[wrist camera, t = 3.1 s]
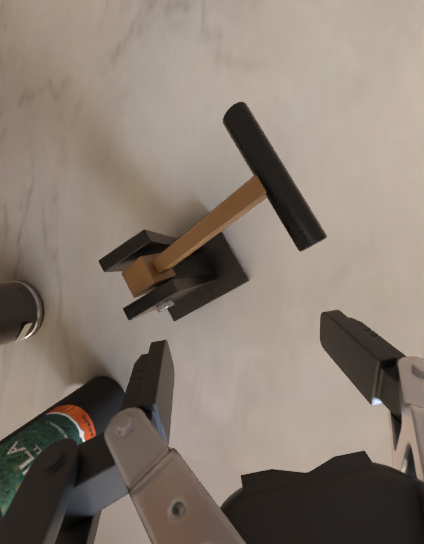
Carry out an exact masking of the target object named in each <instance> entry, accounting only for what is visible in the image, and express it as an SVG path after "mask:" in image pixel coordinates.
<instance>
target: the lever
mask: <svg viewBox="0 0 424 544" xmlns="http://www.w3.org/2000/svg"><path fill="white" fill-rule="evenodd" d="M223 124H224V126H225V128H226V129H227V131H228V133H229V134H230V136H231V138H232V139H233V141H234V143H235V144H236V146H237V148H238V149H239V151H240V153H241V154H242V156H243V158H244V159H245V161H246V163H247V164H248V166H249V168H250V170H251V171H252V173H253V175H254V176H253V177H252V178H251V179H250V180H249V181H247V182H246V183H245V184H244V185H243V186H241V187H240V188H239V189H238V190H237V191H235V192H234V193H233V194H232V195H231V196H229V197H228V198H227V199H226V200H224V201H223V202H222V203H221V204H220V205H218V206H217V207H216V208H215V209H214V210H212V211H211V212H210V213H209V214H208V215H206V216H205V217H204V218H203V219H202V220H200V221H199V222H198V223H197V224H196V225H194V226H193V227H192V228H191V229H190V230H188V231H187V232H186V233H185V234H184V235H182V236H181V237H180V238H179V239H178V240H176V241H175V242H174V243H173V244H172V245H170V246H169V247H168V248H167V249H166V250H164V251H163V252H161V253H156V254H150V255H145V256H140V257H139V258H138V259H137V260H136V261H135V262H134V263H133V264H131V265H130V266H129V267H128V268H127V269H126V270H125V271H124V272H123V273H122V275H123V277H124V279H125V281H126V283H127V285H128V287H129V289H130V291H131V293H132V295H133V297H134V298H135V297H138V296H141V295H143V294H146V293H149V292H151V291H153V290H154V289H156V288H158V287H159V286H161V285H163V284H164V283H166V282H168V281H169V280H171V279H172V278H174V277H175V276H176V274H175V272H174V271H173V269H172V267H174V266H175V265H176V264H178V263H179V262H180V261H182V260H183V259H185V258H186V257H187V256H189V255H190V254H191V253H193V252H194V251H195V250H197V249H198V248H199V247H201V246H202V245H203V244H205V243H206V242H207V241H209V240H210V239H212V238H213V237H214V236H216V235H217V234H218V233H220V232H221V231H222V230H224V229H225V228H226V227H228V226H229V225H230V224H232V223H233V222H235V221H236V220H237V219H239V218H240V217H241V216H243V215H244V214H245V213H247V212H248V211H249V210H251V209H252V208H253V207H255V206H256V205H257V204H259V203H260V202H262V201H263V200H264V199H266V198H268V200H269V201H270V203H271V205H272V206H273V208H274V210H275V211H276V213H277V215H278V216H279V218H280V220H281V222H282V223H283V225H284V227H285V228H286V230H287V232H288V233H289V235H290V237H291V238H292V240H293V242H294V243H295V245H296V247H297V248H298V250H299V251H303V250H305V249H307V248H309V247H311V246H313V245H315V244H316V243H318V242H320V241H322V240H324V239H325V238H326V237H327V235H326V233H325V232H324V230H323V229H322V227H321V225H320V224H319V222H318V220H317V219H316V217H315V216H314V214H313V212H312V211H311V209H310V207H309V206H308V204H307V202H306V201H305V199H304V198H303V196H302V194H301V193H300V191H299V189H298V188H297V186H296V184H295V183H294V181H293V180H292V178H291V176H290V175H289V173H288V171H287V170H286V168H285V166H284V165H283V163H282V162H281V160H280V158H279V157H278V155H277V153H276V152H275V150H274V149H273V147H272V145H271V144H270V142H269V140H268V139H267V137H266V135H265V134H264V132H263V131H262V129H261V127H260V126H259V124H258V122H257V121H256V119H255V117H254V116H253V114H252V113H251V111H250V109H249V108H248V106H247V104H246V103H244V102H238V103H236V104H234V105H233V106H232V107H230V108H229V110H228V111H227V112H226V114H225V116H224V118H223Z"/></svg>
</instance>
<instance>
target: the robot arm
mask: <svg viewBox="0 0 424 544" xmlns="http://www.w3.org/2000/svg"><path fill="white" fill-rule="evenodd" d="M42 318H43V307H42V302H41V299H40V297H39V295H38V293H37V291H36V290H35V289H34V288H33V287H32V286H31V285H30V284H28V283H26V282H24V281H9V282H1V283H0V345H4V344H7V343H10V342H13V341H16V342H15V343H17V342H20V341H22V340H23V339H25V338H28V337H31V336H32V335H34V334H35V333H36V332H37V330H38V329H39V327H40V325H41V322H42ZM320 341H321V344H322V347H323V348H324V350H325V351H326V352H327V353H328V354H329V356H330V357H331V358H332V359H333V360H334V362H335V363H336V364H337V365H338V366H339V368H340V369H341V370H342V371H343V372H344V373H345V375H346V376H347V377H348V378H349V379H350V381H351V382H352V383H353V384H354V385H355V386H356V388H357V389H358V390H359V391H360V392H361V394H362V395H363V396H364V397H365V398H366V399H367V401H368V402H369V403H370V404H371V405H372V406H373V405H378V404H384V405H385V406H386V407H387V408H388V409H389V411H388V419H389V430H390V440H391V451H392V467H389V466H386V465H382V464H378V463H372V461H371V460H370V458H369V457H368V455H367V454H366V452H365V451H361V452H356V453H351V454H346V455H341V456H336V457H333V458H332V459H330V460H328V461H327V462H325V463H323V464H322V465H320V466H319V467H317V468H315V469H314V470H312V471H310V472H308V473H301V472H292V471H283V470H274V469H270V470H265V471H260V472H255V473H250V474H246V475H241V480H242V488H240V489H238V490H237V491H235V492H234V493H233V494H232V495H230V496H229V497H228V499H227V500H226V501H225V502H224V503H223V504H222V506H221V507H220V508H219V507H218V505H217V504H216V502H215V501H214V500H213V498H212V497H211V496H210V494H209V493H208V492H207V490H206V489H205V488H204V486H203V485H202V484H201V482H200V481H199V479H198V478H197V477H196V475H195V474H194V473H193V471H192V470H191V469H190V467H189V466H188V465H187V464H186V462H185V461H184V459H183V458H182V457H181V455H180V454H179V453H178V452H177V450H176V449H174V448H172V449H170V448H169V435H170V423H171V411H172V399H173V387H174V365H173V361H172V357H171V353H170V349H169V345H168V342H167V340H163V341H157V342H152V343H151V345H150V349H149V353H148V354H144V355H141V356H140V357H139V359H138V360H137V361H136V362H135V364H134V367H133V371H132V374H131V377H130V382H129V383H128V386H127V389H126V393H125V396H124V399H123V402H122V405H121V408H120V411H119V413H117V414H116V415H115V416H114V417H113V418H112V419H111V420H110V422H109V423H108V425H107V427H106V429H105V431H103V432H102V433H100V434H99V435H97V436H95V437H93V438H91V439H89V440H87V441H85V442H83V443H81V444H77V443H76V441H75V440H73V439H71V438H65V439H61V440H58V441H56V442H54V443H52V444H51V445H49V446H48V447H47V448H45V449H44V450H43V451H42V452H41V453H40V454H39V455H38V456H37V457H36V459H35V460H34V461H33V463H32V464H31V466H30V468H29V470H28V471H27V473H26V475H25V477H24V479H23V481H22V483H21V485H20V486H19V488H18V490H17V492H16V494H15V496H14V498H13V500H12V502H11V503H10V505H9V507H8V509H7V511H6V513H5V515H4V517H3V519H2V520H1V522H0V544H94V540H95V536H96V532H97V527H98V523H99V519H100V515H101V510H102V509H104V508H105V507H107V506H109V505H110V504H112V503H114V502H115V501H117V500H119V499H120V498H122V497H124V496H125V495H127V494H130V497H131V499H132V501H133V503H134V506H135V508H136V510H137V512H138V515H139V517H140V519H141V521H142V523H143V526H144V528H145V530H146V532H147V534H148V537H149V539H150V541H151V543H152V544H424V359H423V358H419V357H411V356H409V357H406V356H405V355H404V354H402V353H401V352H400V351H399V350H397V349H396V348H395V347H393V346H392V345H391V344H389V343H388V342H387V341H386V340H384V339H383V338H382V337H380V336H378V334H376V333H375V332H374V331H373V330H372V331H371V329H370V328H369V327H367V326H366V325H365V324H363V323H362V322H360V321H357V320H355V319H353V318H348V317H347V316H346V315H344V314H343V313H342V312H341V311H339V310H333V311H327V312H322V313H321V320H320Z"/></svg>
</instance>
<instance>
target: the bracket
mask: <svg viewBox="0 0 424 544" xmlns="http://www.w3.org/2000/svg"><path fill="white" fill-rule="evenodd" d="M179 238H180V237H179ZM179 238H178V239H179ZM178 239H177V238H173V237H169V236H166V235H162V234H159V233H155V232H152V231H148V230H143V231H141V232H140V233H138V234H137V235H135V236H134V237H132V238H131V239H129V240H128V241H126V242H125V243H124V244H122V245H121V246H119V247H118V248H116V249H115V250H113V251H112V252H111V253H109V254H108V255H106V256H105V257H103V258H102V259H100V260H99V263H100V265H101V267H102V269H103V271H104V272H114V271H125V270H126V269H127V268H128V267H129V266H130V265H131V264H133V263H134V262H135V261H136V260H137V259H138V258H139V257H140V256H145V255H150V254H156V253H161V252H163V251H164V250H166V249H167V248H168V247H169V246H170V245H172V244H173V243H174V242H175V241H176V240H178ZM172 269H173V271H174V272H175V274H176V276H175V277H174V278H172V279H171V280H169V281H168V282H166V283H164V284H163V285H161V286H159V287H158V288H156V289H154V290H153V291H151V292H149V293H148V294H146V295H144V296H143V297H141V298H139V299H138V300H136V301H134V302H133V303H131V304H129V305H128V306H126V307H124V308H123V310H124V312H125V314H126V316H127V318H128V320H132V319H134V318H136V317H139V316H141V315H143V314H146V313H148V312H151V311H153V310H155V309H157V311H158V312H161V311H163V310H165V309H168V311H169V312H170V314H171V316H172V318H173V320H174V321H176V320H178V319H180V318H182V317H183V316H185V315H187V314H189V313H191V312H193V311H194V310H196V309H198V308H200V307H202V306H204V305H205V304H207V303H209V302H211V301H213V300H215V299H216V298H218V297H220V296H222V295H224V294H226V293H227V292H229V291H231V290H233V289H235V288H237V287H238V286H240V285H242V284H244V283H246V282H248V281H249V278H248V276H247V274H246V272H245V271H244V269H243V267H242V265H241V264H240V262H239V260H238V258H237V257H236V255H235V253H234V251H233V250H232V248H231V246H230V244H229V243H228V241H227V239H226V237H225V236H224V234H223V232H222V231H221V232H220V233H218V234H217V235H216V236H214V237H213V238H212V239H210V240H209V241H207V242H206V243H205V244H203V245H202V246H201V247H199V248H198V249H197V250H195V251H194V252H193V253H191V254H190V255H189V256H187V257H186V258H185V259H183V260H182V261H180V262H179V263H178V264H176V265H175V266H174V267H172Z"/></svg>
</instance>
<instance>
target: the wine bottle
mask: <svg viewBox="0 0 424 544" xmlns="http://www.w3.org/2000/svg"><path fill="white" fill-rule="evenodd" d="M124 396H125V392H124V391H123V389H122V388H121V386H120V385H119V384H118V383H117V382H116V381H115V380H113V379H111V378H109V377H103V376H100V377H96V378H94V379H92V380H91V381H89V382H88V383H86V384H85V385H83V386H82V387H80V388H79V389H77V390H76V391H74V392H73V393H71V394H70V395H68V396H67V397H65V398H64V399H62V400H61V401H59V402H58V403H56V404H55V405H53V406H52V407H50V408H49V409H47V410H46V411H44V412H43V413H41V414H40V415H38V416H37V417H35V418H34V419H32V420H31V421H29V422H28V423H26V424H25V425H23V426H22V427H20V428H19V429H17V430H16V431H14V432H13V433H11V434H10V435H8V436H7V437H5V438H4V439H2V440H1V441H0V522H1V520H2V519H3V517H4V515H5V513H6V511H7V509H8V507H9V505H10V503H11V502H12V500H13V498H14V496H15V494H16V492H17V490H18V488H19V486H20V485H21V483H22V481H23V479H24V477H25V475H26V473H27V471H28V470H29V468H30V466H31V464H32V463H33V461H34V460H35V459H36V457H37V456H38V455H39V454H40V453H41V452H42V451H43V450H44V449H45V448H47V447H48V446H49V445H51V444H52V443H54V442H56V441H58V440H61V439H65V438H71V439H73V440H75V441H76V443H77V444H81V443H83V442H85V441H87V440H89V439H91V438H93V437H95V436H97V435H99V434H100V433H102V432H103V431H105V429H106V427H107V425H108V423H109V422H110V420H111V419H112V418H113V417H114V416H115V415H116V414H117V413H119V411H120V408H121V405H122V402H123V399H124Z"/></svg>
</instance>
